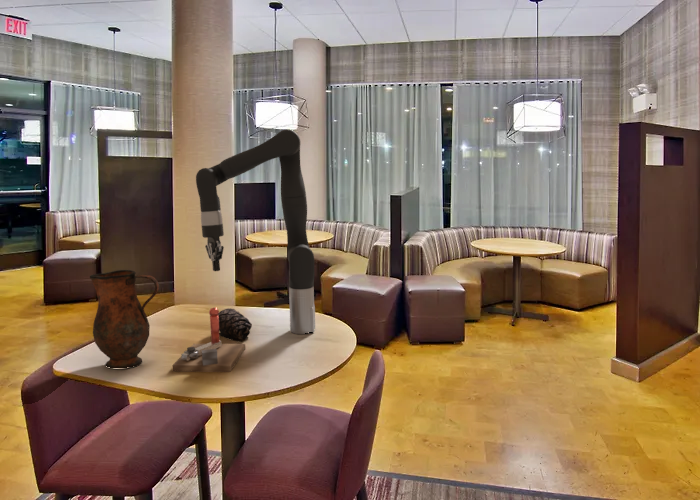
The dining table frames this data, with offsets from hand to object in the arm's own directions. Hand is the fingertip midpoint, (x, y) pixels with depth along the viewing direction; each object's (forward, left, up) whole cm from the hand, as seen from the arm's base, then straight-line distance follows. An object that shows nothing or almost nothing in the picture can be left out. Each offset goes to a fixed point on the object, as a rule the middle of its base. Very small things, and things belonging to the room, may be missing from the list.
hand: (216, 270), depth 197 cm
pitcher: (+21, +29, -25) cm, 44 cm away
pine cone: (-6, +1, -25) cm, 26 cm away
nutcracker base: (-4, +25, -25) cm, 36 cm away
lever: (-1, +25, -22) cm, 33 cm away
